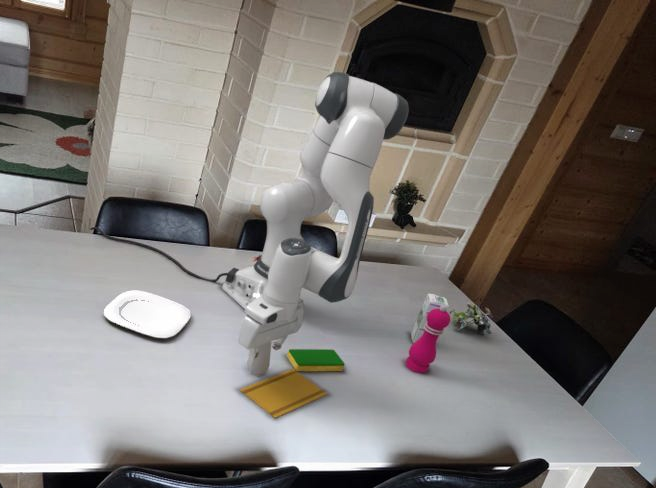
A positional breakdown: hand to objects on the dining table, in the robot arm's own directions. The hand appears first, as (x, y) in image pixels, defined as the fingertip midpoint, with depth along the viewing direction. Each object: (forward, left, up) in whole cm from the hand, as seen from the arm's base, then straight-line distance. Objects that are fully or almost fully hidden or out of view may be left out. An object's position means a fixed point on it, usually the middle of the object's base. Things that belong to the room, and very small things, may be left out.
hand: (264, 353), depth 162 cm
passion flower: (+15, +83, -6) cm, 84 cm away
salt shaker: (-1, 0, -6) cm, 6 cm away
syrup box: (+11, +61, -6) cm, 62 cm away
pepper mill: (+19, +46, -6) cm, 50 cm away
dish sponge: (+4, +18, -6) cm, 19 cm away
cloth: (+9, 0, -6) cm, 11 cm away
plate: (-34, -10, -6) cm, 36 cm away
